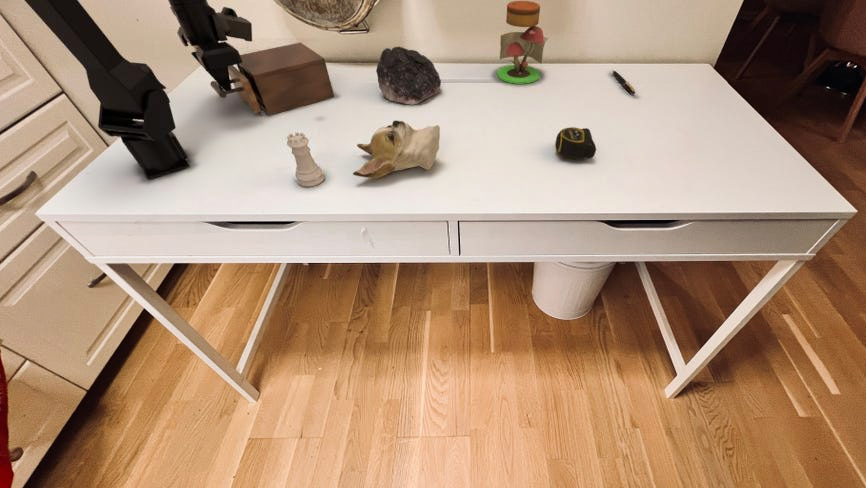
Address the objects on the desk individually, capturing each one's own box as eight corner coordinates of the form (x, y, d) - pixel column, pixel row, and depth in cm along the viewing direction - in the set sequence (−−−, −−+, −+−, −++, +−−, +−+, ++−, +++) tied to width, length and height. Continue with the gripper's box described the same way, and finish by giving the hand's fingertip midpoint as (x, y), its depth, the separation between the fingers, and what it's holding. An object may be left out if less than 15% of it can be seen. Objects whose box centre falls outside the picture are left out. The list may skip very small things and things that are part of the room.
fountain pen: (609, 72, 99) (610, 66, 98) (613, 72, 100) (615, 66, 98) (631, 96, 90) (633, 90, 89) (636, 96, 90) (638, 89, 89)
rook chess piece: (330, 180, 66) (316, 136, 60) (306, 191, 64) (289, 146, 58) (316, 169, 68) (301, 126, 62) (292, 180, 66) (274, 136, 60)
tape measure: (593, 164, 70) (598, 145, 68) (555, 162, 70) (559, 143, 68) (588, 144, 75) (592, 126, 72) (552, 143, 75) (555, 124, 72)
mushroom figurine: (547, 85, 93) (557, 12, 82) (495, 84, 93) (498, 11, 82) (543, 66, 101) (551, -2, 90) (494, 66, 101) (497, -3, 90)
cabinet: (269, 115, 81) (253, 75, 75) (249, 95, 88) (232, 56, 82) (334, 97, 88) (324, 58, 82) (311, 79, 94) (300, 42, 88)
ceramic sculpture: (440, 132, 59) (341, 143, 59) (446, 180, 66) (357, 191, 65) (436, 102, 67) (347, 111, 66) (442, 148, 73) (361, 157, 72)
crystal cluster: (451, 100, 89) (451, 51, 82) (397, 109, 83) (392, 57, 76) (422, 84, 97) (420, 39, 91) (371, 92, 91) (365, 44, 84)
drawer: (232, 119, 78) (217, 87, 73) (216, 100, 84) (201, 69, 79) (318, 96, 86) (309, 65, 81) (297, 79, 92) (288, 50, 87)
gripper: (253, 4, 67) (285, 96, 78) (221, -16, 77) (254, 68, 88) (180, 16, 62) (226, 112, 73) (157, -8, 72) (200, 80, 83)
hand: (228, 91), depth 80 cm, fingers closed
